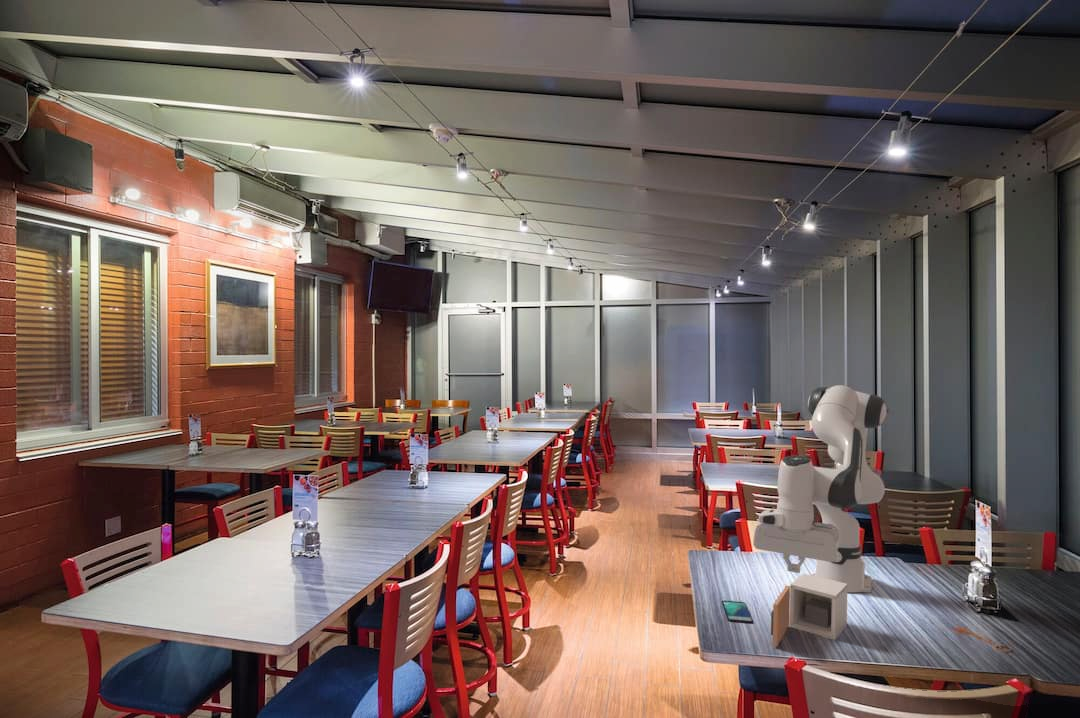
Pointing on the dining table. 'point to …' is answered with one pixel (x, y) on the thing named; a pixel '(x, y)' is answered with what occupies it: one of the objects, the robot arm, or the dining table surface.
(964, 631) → the key
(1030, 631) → the dining table surface
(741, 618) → the smartphone
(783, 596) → the hatch
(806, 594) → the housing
